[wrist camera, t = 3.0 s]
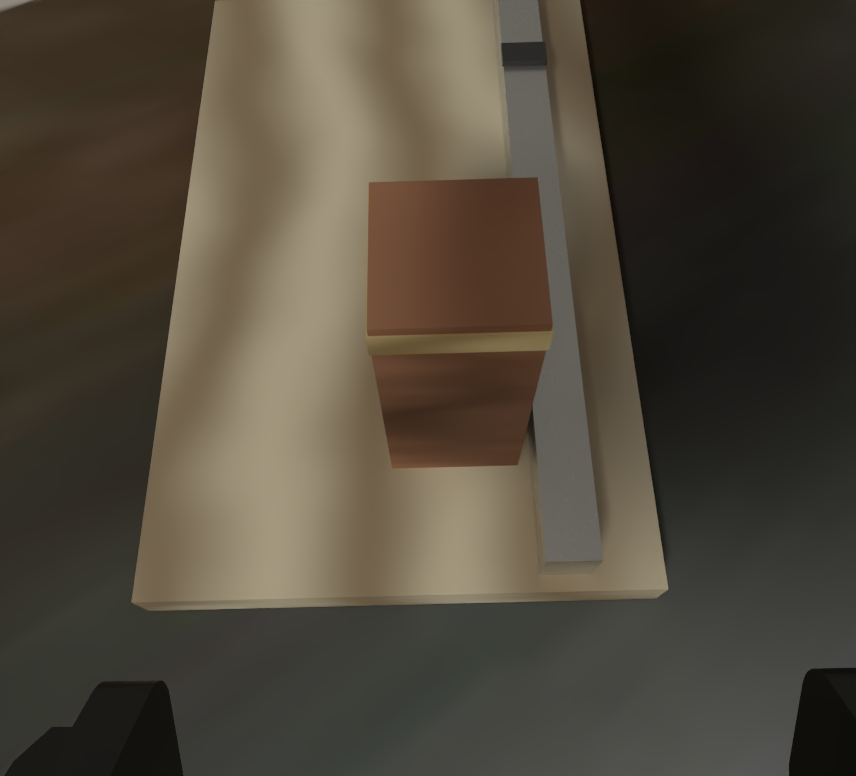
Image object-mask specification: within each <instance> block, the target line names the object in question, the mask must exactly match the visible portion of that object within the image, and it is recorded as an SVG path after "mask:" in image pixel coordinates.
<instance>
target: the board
mask: <svg viewBox="0 0 856 776" xmlns="http://www.w3.org/2000/svg"><path fill="white" fill-rule="evenodd" d="M538 7H539V15H540V24H541V33H542V41H543V42H545V44H546V53H547V65H545V67H546V75H547V84H548V92H549V101H550V109H551V118H552V126H553V135H554V143H555V152H556V161H557V169H558V178H559V186H560V195H561V203H562V212H563V220H564V229H565V237H566V246H567V254H568V263H569V272H570V280H571V289H572V297H573V306H574V314H575V323H576V331H577V340H578V348H579V357H580V365H581V374H582V383H583V391H584V400H585V408H586V417H587V425H588V434H589V442H590V451H591V459H592V468H593V476H594V485H595V493H596V502H597V511H598V519H599V528H600V536H601V545H602V553H603V562H602V563H601V564H600V565H599V566H598V568H597V569H596V570H595V571H594V573H593V574H576V575H539V571H538V558H537V546H536V534H535V521H534V509H533V497H532V484H531V472H530V460H529V447H528V435H527V429H526V433H525V437H524V441H523V445H522V449H521V453H520V457H519V461H518V465H512V466H474V467H436V468H397V469H392V465H391V459H390V454H389V448H388V443H387V437H386V432H385V427H384V421H383V416H382V410H381V405H380V399H379V394H378V388H377V383H376V378H375V372H374V367H373V361H372V356H371V355H369V354H368V348H367V343H366V279H367V214H368V189H369V182H396V181H430V180H464V179H498V178H507V176H506V163H505V151H504V139H503V126H502V114H501V102H500V89H499V77H498V65H497V52H496V40H495V28H494V15H493V3H492V0H221V1H215V6H214V13H213V20H212V27H211V34H210V42H209V49H208V56H207V63H206V70H205V78H204V85H203V92H202V99H201V106H200V113H199V121H198V128H197V135H196V142H195V149H194V157H193V164H192V171H191V178H190V185H189V193H188V200H187V207H186V214H185V221H184V228H183V236H182V243H181V250H180V257H179V264H178V272H177V279H176V286H175V293H174V300H173V308H172V315H171V322H170V329H169V336H168V343H167V351H166V358H165V365H164V372H163V379H162V387H161V394H160V401H159V408H158V415H157V423H156V430H155V437H154V444H153V451H152V458H151V466H150V473H149V480H148V487H147V494H146V502H145V509H144V516H143V523H142V530H141V538H140V545H139V552H138V559H137V566H136V573H135V581H134V588H133V595H132V603H134V604H136V605H138V606H140V607H142V608H144V609H146V610H148V611H163V610H204V609H244V608H285V607H326V606H366V605H407V604H448V603H488V602H529V601H569V600H610V599H651V598H657V597H658V596H660V595H661V594H663V593H664V592H665V591H667V590H668V584H667V577H666V570H665V564H664V557H663V550H662V544H661V537H660V530H659V524H658V517H657V510H656V504H655V497H654V490H653V484H652V477H651V471H650V464H649V457H648V451H647V444H646V437H645V431H644V424H643V417H642V411H641V404H640V397H639V391H638V384H637V378H636V371H635V364H634V358H633V351H632V344H631V338H630V331H629V324H628V318H627V311H626V304H625V298H624V291H623V285H622V278H621V271H620V265H619V258H618V251H617V245H616V238H615V231H614V225H613V218H612V211H611V205H610V198H609V192H608V185H607V178H606V172H605V165H604V158H603V152H602V145H601V138H600V132H599V125H598V118H597V112H596V105H595V99H594V92H593V85H592V79H591V72H590V65H589V59H588V52H587V45H586V39H585V32H584V25H583V19H582V12H581V5H580V0H538Z"/></svg>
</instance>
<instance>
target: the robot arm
mask: <svg viewBox="0 0 856 776" xmlns="http://www.w3.org/2000/svg"><path fill="white" fill-rule="evenodd" d="M5 776H183V771H182V765H181V759H180V753H179V747H178V742H177V736H176V730H175V724H174V718H173V712H172V707H171V701H170V695H169V691H168V688H167V685H166V684H165V683H164V682H163V681H114V682H101V683H100V684H98V686H97V687H96V688H95V689H94V691H93V692H92V694H91V695H90V697H89V699H88V701H87V702H86V704H85V706H84V708H83V709H82V711H81V713H80V715H79V716H78V718H77V720H76V722H75V723H74V725H73V727H52V728H51V729H49V730H48V731H47V732H46V733H45V734H44V735H43V736H42V737H40V738H39V739H38V740H37V741H36V742H35V743H34V744H33V745H31V746H30V747H29V748H28V749H27V750H26V751H25V752H24V753H22V754H21V755H20V756H19V757H18V758H17V759H16V760H15V761H13V763H12V765H11V766H10V768H9V769H8V771H7V773H6V774H5ZM789 776H856V668H823V669H810V670H809V671H808V672H807V673H806V675H805V677H804V680H803V684H802V690H801V696H800V702H799V708H798V714H797V720H796V726H795V732H794V737H793V743H792V749H791V755H790V762H789Z"/></svg>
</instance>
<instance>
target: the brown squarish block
mask: <svg viewBox="0 0 856 776" xmlns="http://www.w3.org/2000/svg"><path fill="white" fill-rule="evenodd" d="M553 334H554V332H553V321H552V311H551V301H550V292H549V282H548V272H547V262H546V253H545V243H544V233H543V224H542V214H541V204H540V194H539V185H538V177H532V178H498V179H464V180H430V181H396V182H369V189H368V214H367V279H366V343H367V348H368V354H369V355H371V356H372V361H373V367H374V372H375V378H376V383H377V388H378V394H379V399H380V405H381V410H382V416H383V421H384V427H385V432H386V437H387V443H388V448H389V454H390V459H391V465H392V469H397V468H436V467H474V466H512V465H518V461H519V457H520V453H521V449H522V445H523V441H524V437H525V433H526V429H527V425H528V421H529V417H530V413H531V409H532V405H533V401H534V397H535V393H536V389H537V385H538V381H539V377H540V373H541V369H542V365H543V361H544V358H545V354H546V350H549V349H550V345H551V341H552V337H553Z"/></svg>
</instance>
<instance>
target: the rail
mask: <svg viewBox="0 0 856 776" xmlns="http://www.w3.org/2000/svg"><path fill="white" fill-rule="evenodd" d="M492 3H493V15H494V28H495V40H496V52H497V65H498V77H499V89H500V102H501V114H502V126H503V139H504V151H505V163H506V176H507V178H532V177H538V185H539V194H540V204H541V214H542V224H543V233H544V243H545V253H546V262H547V272H548V282H549V292H550V301H551V311H552V321H553V332H554V334H553V337H552V341H551V345H550V349H549V350H546V354H545V358H544V361H543V365H542V369H541V373H540V377H539V381H538V385H537V389H536V393H535V397H534V401H533V405H532V409H531V413H530V417H529V421H528V425H527V435H528V447H529V460H530V472H531V484H532V497H533V509H534V521H535V534H536V546H537V558H538V571H539V575H576V574H593V573H594V571H595V570H596V569H597V568H598V566H599V565H600V564H601V563H602V562H603V553H602V545H601V536H600V528H599V519H598V511H597V502H596V493H595V485H594V476H593V468H592V459H591V451H590V442H589V434H588V425H587V417H586V408H585V400H584V391H583V383H582V374H581V365H580V357H579V348H578V340H577V331H576V323H575V314H574V306H573V297H572V289H571V280H570V272H569V263H568V254H567V246H566V237H565V229H564V220H563V212H562V203H561V195H560V186H559V178H558V169H557V161H556V152H555V143H554V135H553V126H552V118H551V109H550V101H549V92H548V84H547V75H546V67H545V65H547V53H546V44H545V42H543V41H542V33H541V24H540V15H539V7H538V0H492Z"/></svg>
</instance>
